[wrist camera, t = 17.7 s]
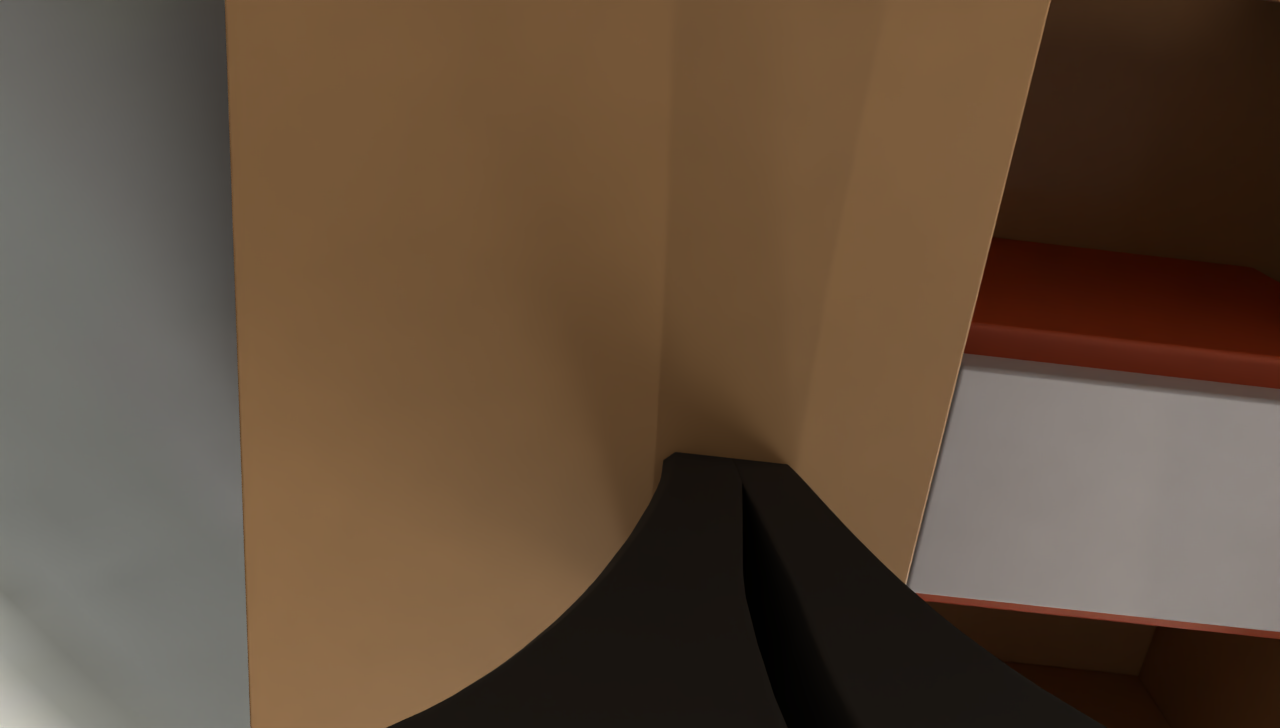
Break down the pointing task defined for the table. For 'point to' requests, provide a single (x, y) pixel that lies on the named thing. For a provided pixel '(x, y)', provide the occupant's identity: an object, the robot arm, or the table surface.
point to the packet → (1112, 444)
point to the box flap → (581, 296)
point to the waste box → (1156, 226)
